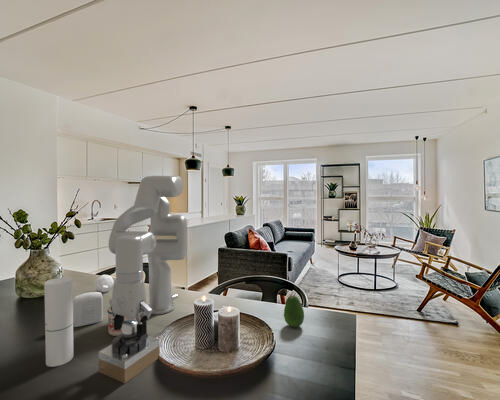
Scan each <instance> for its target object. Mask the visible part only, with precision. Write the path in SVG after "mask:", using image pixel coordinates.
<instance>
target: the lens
mask: <svg viewBox="0 0 500 400" xmlns="http://www.w3.org/2000/svg"><path fill="white" fill-rule="evenodd" d="M137 324H138V322H137V320H136V319H129V320H126V321H124V322H123V323H122V344H132V343H135V342H137V341H138V338H137Z"/></svg>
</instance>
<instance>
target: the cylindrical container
mask: <svg viewBox="0 0 500 400" xmlns="http://www.w3.org/2000/svg"><path fill="white" fill-rule="evenodd" d="M43 287H44V326H45V327H44V330H45V331H44V332H45V334H44V335H45V341H44V342H45V366H47V367H51V368H54V367H59V366H62V365H64V364H67V363H69V362H70V361H71V360H72V359H74V353H75V352H74V326H73V301H74V295H73V293H74V292H73V291H74V290H73V277H71V276H70V277H68V276H66V277H65V276H64V277H56V278H51V279H48V280H46V281H45V282H44V286H43Z"/></svg>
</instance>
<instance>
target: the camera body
mask: <svg viewBox="0 0 500 400" xmlns="http://www.w3.org/2000/svg"><path fill="white" fill-rule="evenodd" d="M160 342H161V341H160V338H157V337H155V336H150V335H148V333H146V334H145V335H143V336H141V337H140V338H138V341H137V342H135V343H132V344H122V334H120V335H118V336H115V337H114V338H113V339H112V340H111V344H110V345H108V346H107V347H104V348H102V349H101V350H99V351H98V373H101V374H103V375H104V376H106V377H109V378H112V379H114V380H116V381H118V382H121V383H123V384H126V383H128V382H129V381H130V380H131V379H133V378H135V377H136V376H137V375H139V374H140V373H141V372H143V371H144V370H146V368H148V367H150V366H151V365H152V364H154V363H155V362H156V361H157V360H158V356H159V355H160V353H161V352H160V350H161V349H160V346H161V345H160ZM160 356H161V355H160Z"/></svg>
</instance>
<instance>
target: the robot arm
mask: <svg viewBox="0 0 500 400" xmlns="http://www.w3.org/2000/svg"><path fill="white" fill-rule="evenodd" d="M183 189H184V181H183V179H182V177H181V176H179V175H148V176H145V177H143V178H142V179H141V180H140V183H139V185H138V190H137V192H136V196H135V200H134V202H133V205H132V206H130V207H129V208H128V209H126V210H125V211H124V212H123V213H122V214H121V215H119V216H118V217H117V219H115V221H114V223H113V226H112V228H111V232H110V235H109V239H108V249H109V252H110V253H112V254H114V255H115V280H114V283H113V286H112V287H113V288H112V297H111V299H109V300H108V303H109V305H110V306H111V311H112V312H113V314H112V315H113V317H114V330H118V329H120V328H122V323H123V322H124V316H125V317H128V318H136V320H137V322H138V324H137V338H140V337H141V336H143V335H145V334H146V333H147V331H148V330H147V328H148V327H147V323H148V321H149V319H150V318H151V316H152V315H163V314H167V313H170V312H172V311H173V310H174V309H175V307H176V304H175V302H173V301H174V300H176V299H177V298H178V297H179V295H178V294H177V293H175V294H173V295H172V267H171V265H170V264H169V263H168V261H181V260H184V259H185V258H186V257H187V255H188V221H187V219H186V217H185V216H184V215H182V214H171V203H170V201H169V200H168V198H177V197H178V196H180V195H181V194H182V193H183ZM148 219H150V231H145V230H143V231H141V230H140V231H137V230H134V231H131V230H130V231H127V230H128V229H129V228H130V227H132V226H133V225H136V224H138V223H140V222H143V221H146V220H148ZM156 236H157V237H176V238H156ZM144 255H147V262H148V282H149V283H148V295H149V296H148V301H149V303H148V304H147V294H146V286H145V281H144V268H143V267H144V266H143V265H144V264H143V263H144V262H143V261H144V258H143V257H144ZM110 306H109V307H110ZM141 317H142V318H141ZM147 334H148V333H147Z"/></svg>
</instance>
